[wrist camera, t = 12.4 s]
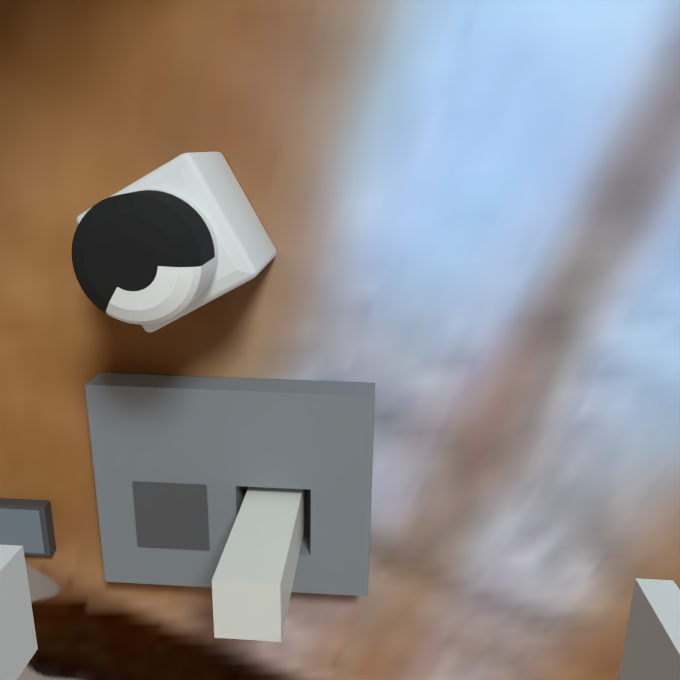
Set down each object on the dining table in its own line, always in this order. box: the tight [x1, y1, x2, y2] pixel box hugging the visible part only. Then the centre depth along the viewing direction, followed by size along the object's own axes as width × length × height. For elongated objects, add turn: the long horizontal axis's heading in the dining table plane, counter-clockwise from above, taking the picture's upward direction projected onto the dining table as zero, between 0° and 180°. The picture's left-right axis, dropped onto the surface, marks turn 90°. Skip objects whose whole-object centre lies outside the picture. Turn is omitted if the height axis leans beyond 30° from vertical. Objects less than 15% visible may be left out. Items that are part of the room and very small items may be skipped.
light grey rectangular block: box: [212, 487, 305, 642], centre depth 44 cm, size 4×4×12 cm
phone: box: [0, 498, 56, 556], centre depth 51 cm, size 4×8×1 cm, turn 89°
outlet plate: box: [85, 373, 375, 596], centre depth 48 cm, size 16×20×3 cm
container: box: [72, 152, 276, 332], centre depth 38 cm, size 8×8×13 cm
